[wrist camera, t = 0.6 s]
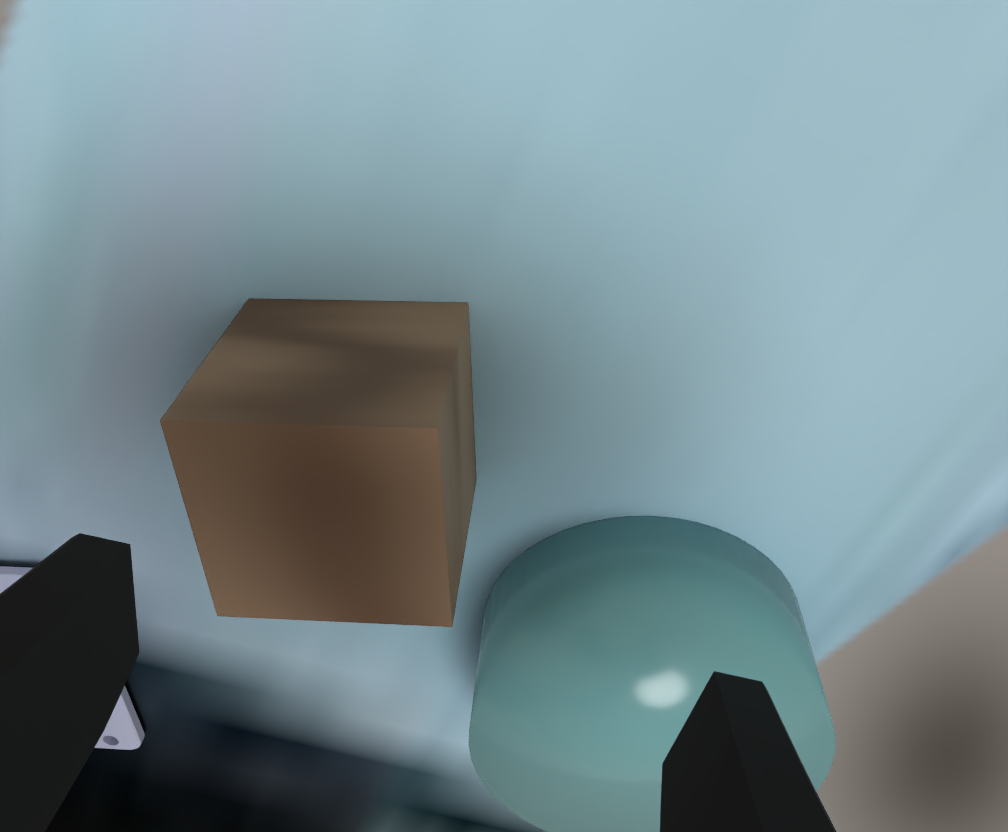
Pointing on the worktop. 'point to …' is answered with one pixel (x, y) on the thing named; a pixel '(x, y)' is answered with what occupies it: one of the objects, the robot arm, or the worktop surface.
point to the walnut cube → (331, 460)
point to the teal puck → (629, 666)
